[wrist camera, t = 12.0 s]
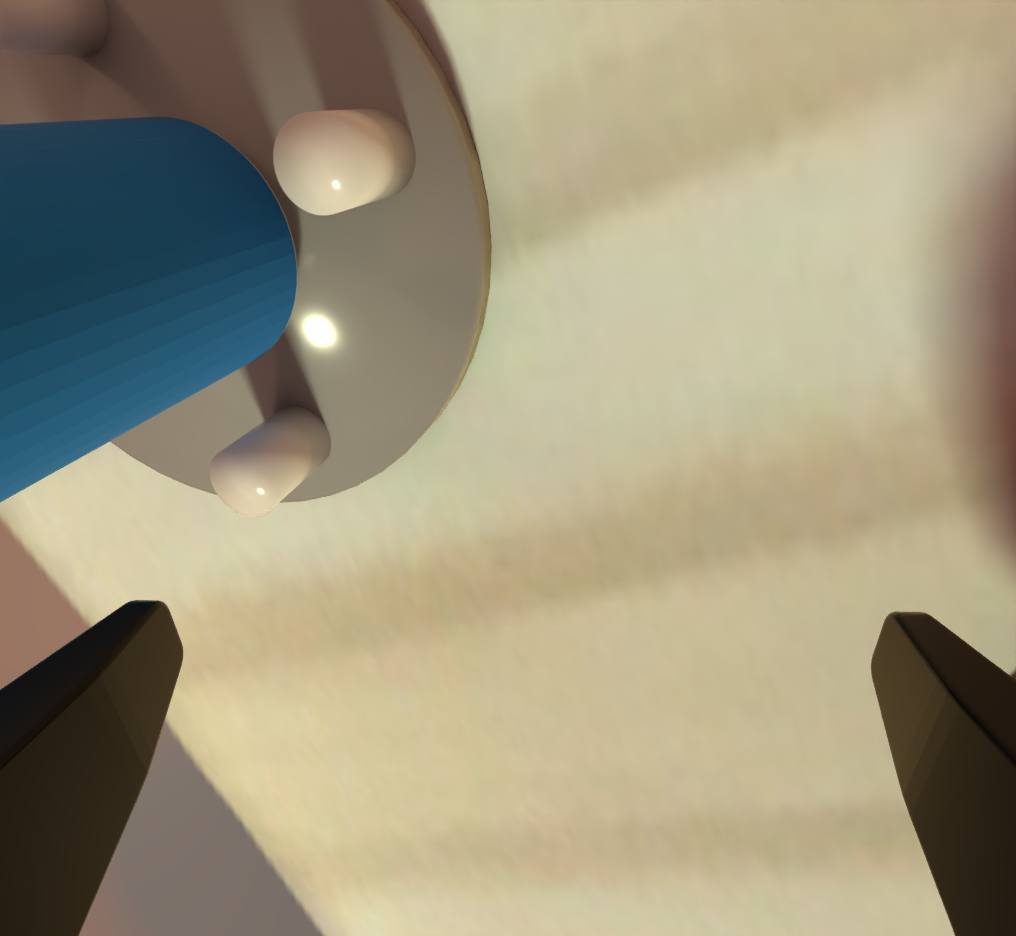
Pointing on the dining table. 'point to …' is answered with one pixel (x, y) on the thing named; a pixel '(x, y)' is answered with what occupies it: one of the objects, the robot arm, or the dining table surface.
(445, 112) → the peg stand
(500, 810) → the dining table surface
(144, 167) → the beverage can
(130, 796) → the robot arm
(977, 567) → the dining table surface
